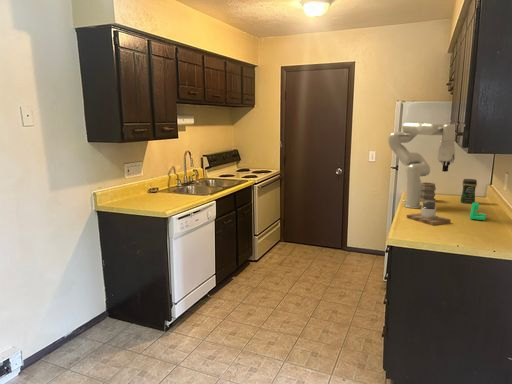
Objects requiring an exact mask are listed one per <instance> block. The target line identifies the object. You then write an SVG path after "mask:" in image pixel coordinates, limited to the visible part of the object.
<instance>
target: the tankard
mask: <svg viewBox="0 0 512 384" xmlns="http://www.w3.org/2000/svg"><path fill="white" fill-rule="evenodd" d="M436 189H437V188H436V183H435V182H421V195H420V202H422V201H425V200H429V201H437V200H436V198H435V197H436Z"/></svg>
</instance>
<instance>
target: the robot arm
mask: <svg viewBox="0 0 512 384" xmlns="http://www.w3.org/2000/svg"><path fill="white" fill-rule="evenodd" d="M455 125H456V124H454V123H453V124H449V123H447V124H445V123H425V122H423V121H420V122H418V121H406V122H403V124H402V125H401V130H402V131H394V132H391V133H390V134H389V136H388V140H387V141H388V146H389V148H390V149H391V151H393V153H394V154H395V155H396V157H397V158H398V159H399V161H400V162H401V163H402V165H403V166H407V167H406V180H407V181H406V196H405V198H404V199H403V200H402V202H403V203H404V204H402V205H403V207H405V208H409V209H421V207H423V204H421V201H420V195H421V183H422V180H421V177H426V176H429V175H430V174H431V167H430V165H429V163H428V162H427V161H426V160H425V158H424V157H423V155H421V153H419V152H410V151H409V149H408V148H407V147H406V146H405V145H404V144H407V143H410V142H411V141H413V140H414V138H416V137H417V136H418V135H419V136H420V135H423V136H441V141H440V144H441V145H439V148H438V151H437V152H438V153H437V160H438V162H439V163H441V165H442V169H441V170H442V172H445V173H446V172H448V171H449V166H450V165H451V164H454V161H455V159H456V146H455V142H456V141H455V140H456V132H455Z"/></svg>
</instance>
